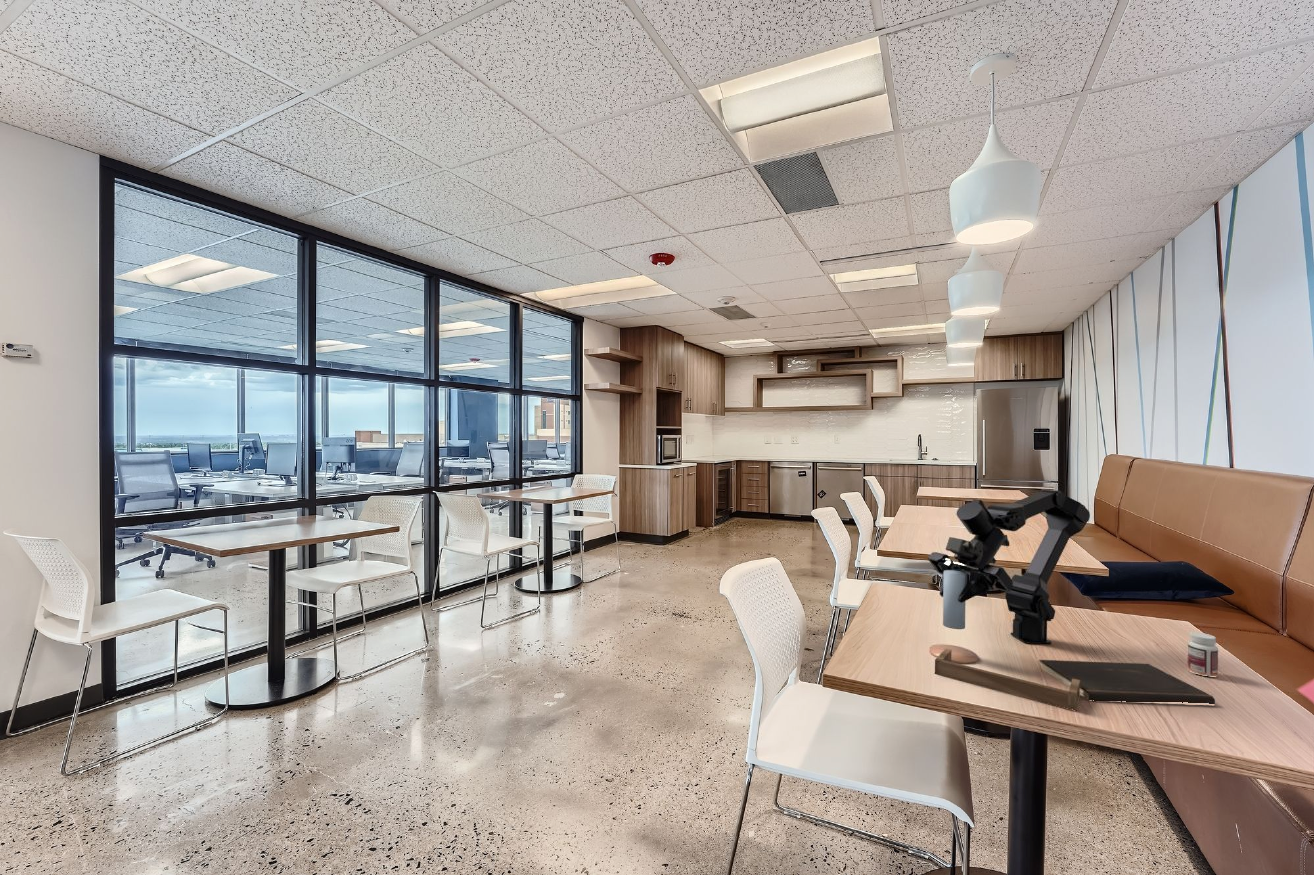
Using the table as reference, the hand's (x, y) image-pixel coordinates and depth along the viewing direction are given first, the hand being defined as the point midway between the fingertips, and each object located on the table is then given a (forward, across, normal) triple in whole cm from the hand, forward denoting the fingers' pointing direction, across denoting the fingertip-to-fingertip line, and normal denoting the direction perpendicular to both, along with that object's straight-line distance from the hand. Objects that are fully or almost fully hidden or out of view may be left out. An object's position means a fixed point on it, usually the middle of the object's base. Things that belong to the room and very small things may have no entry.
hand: (950, 598), depth 131 cm
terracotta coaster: (+9, 0, +10) cm, 13 cm away
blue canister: (+4, 0, +6) cm, 7 cm away
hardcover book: (-4, +24, +24) cm, 35 cm away
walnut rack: (+11, +15, +8) cm, 20 cm away
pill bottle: (-21, +28, +41) cm, 53 cm away
